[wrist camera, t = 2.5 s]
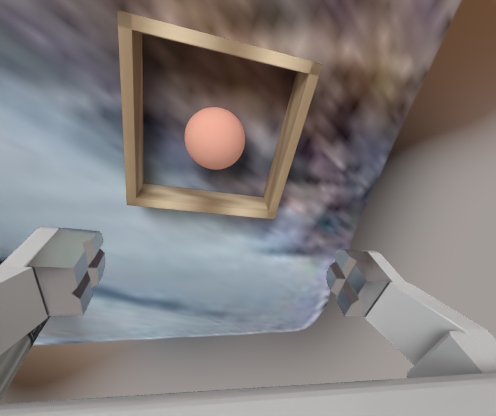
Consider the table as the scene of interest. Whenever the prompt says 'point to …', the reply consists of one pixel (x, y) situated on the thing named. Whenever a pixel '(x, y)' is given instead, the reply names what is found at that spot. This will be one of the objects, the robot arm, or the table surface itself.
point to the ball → (214, 138)
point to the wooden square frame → (133, 120)
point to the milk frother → (16, 356)
